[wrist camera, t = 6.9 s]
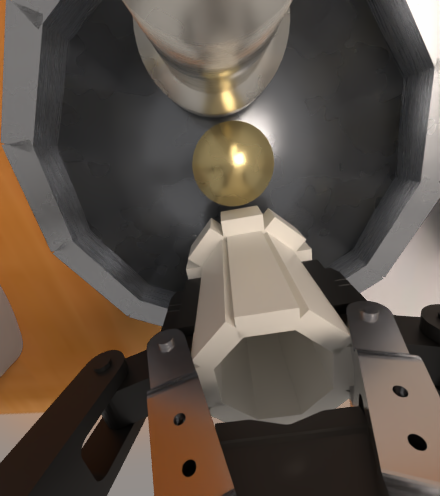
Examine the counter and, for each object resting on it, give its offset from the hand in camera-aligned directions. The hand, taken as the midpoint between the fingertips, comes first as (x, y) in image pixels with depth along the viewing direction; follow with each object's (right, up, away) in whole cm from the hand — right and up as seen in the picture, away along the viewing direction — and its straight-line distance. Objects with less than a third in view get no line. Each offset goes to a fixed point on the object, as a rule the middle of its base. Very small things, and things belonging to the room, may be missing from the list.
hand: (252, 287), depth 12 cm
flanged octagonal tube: (0, +1, +3) cm, 3 cm away
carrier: (-1, +7, +3) cm, 8 cm away
